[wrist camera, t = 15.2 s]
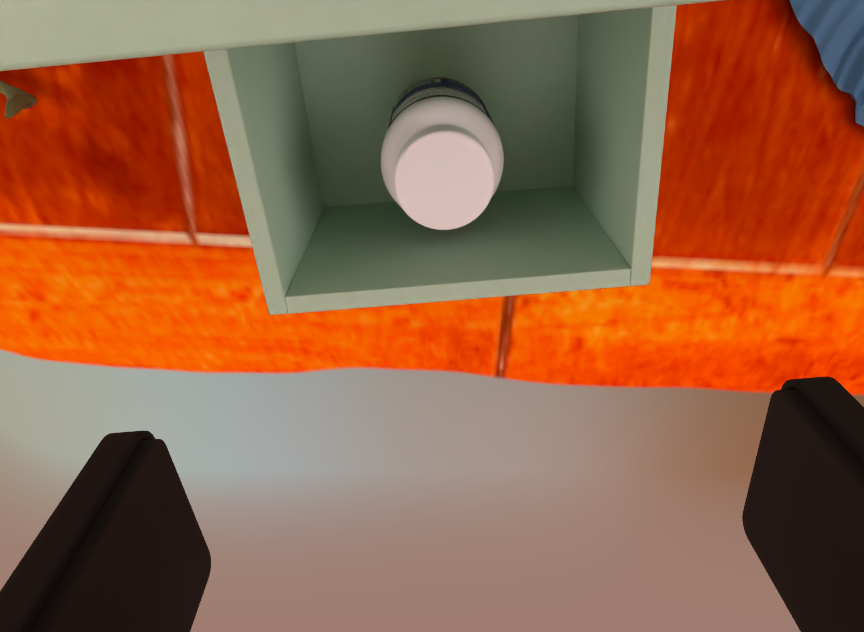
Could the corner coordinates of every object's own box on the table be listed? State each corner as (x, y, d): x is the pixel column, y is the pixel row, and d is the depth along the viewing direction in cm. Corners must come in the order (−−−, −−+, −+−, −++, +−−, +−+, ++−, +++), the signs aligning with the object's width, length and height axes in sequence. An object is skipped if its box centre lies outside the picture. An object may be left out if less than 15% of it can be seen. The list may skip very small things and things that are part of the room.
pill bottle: (471, 190, 34) (487, 262, 25) (378, 164, 33) (361, 229, 25) (504, 91, 31) (532, 135, 23) (403, 61, 30) (393, 94, 22)
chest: (583, 193, 35) (649, 285, 24) (314, 217, 35) (269, 315, 25) (593, -65, 29) (685, -88, 18) (267, -31, 29) (180, -35, 19)
